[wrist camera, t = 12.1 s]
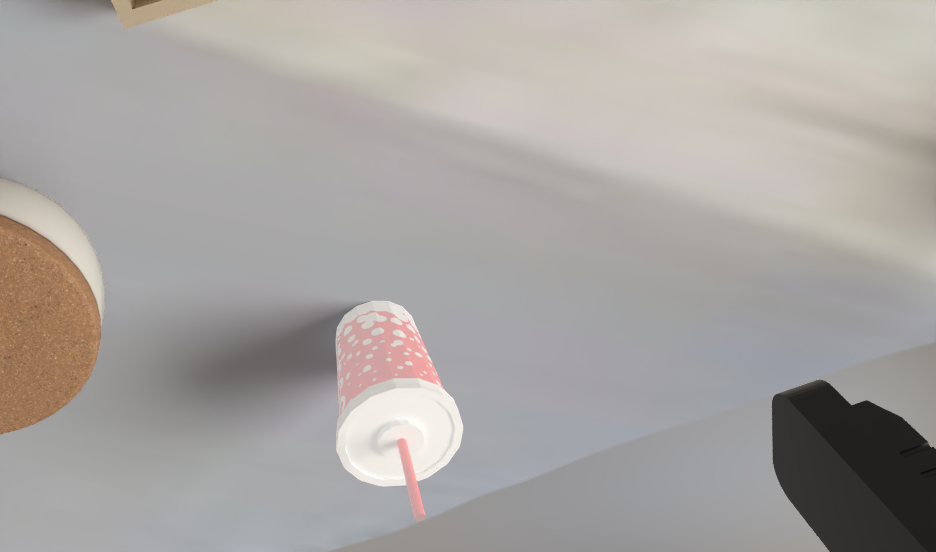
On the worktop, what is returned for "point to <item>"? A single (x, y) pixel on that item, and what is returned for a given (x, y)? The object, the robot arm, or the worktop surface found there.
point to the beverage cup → (391, 402)
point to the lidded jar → (44, 306)
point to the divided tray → (151, 9)
